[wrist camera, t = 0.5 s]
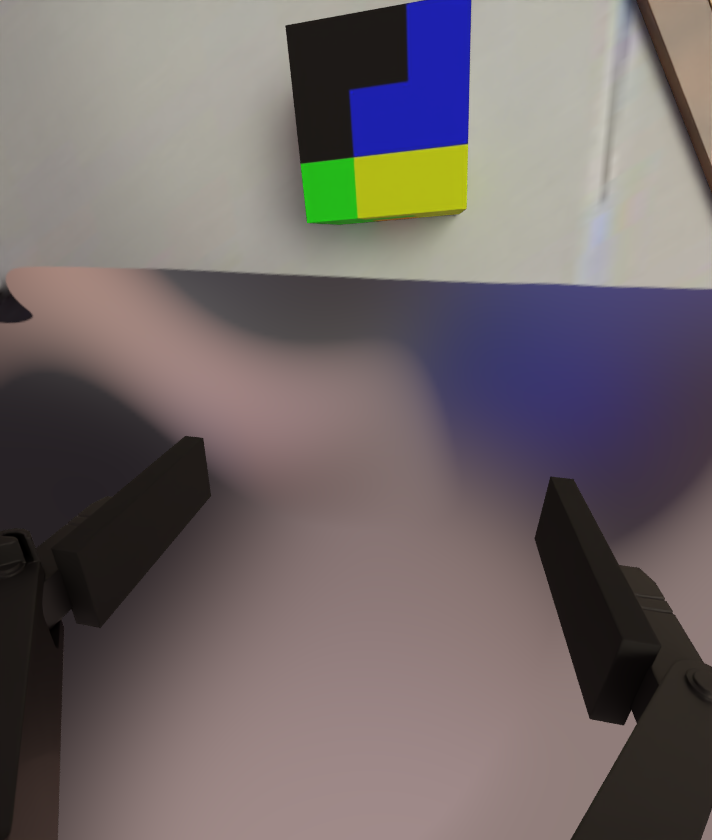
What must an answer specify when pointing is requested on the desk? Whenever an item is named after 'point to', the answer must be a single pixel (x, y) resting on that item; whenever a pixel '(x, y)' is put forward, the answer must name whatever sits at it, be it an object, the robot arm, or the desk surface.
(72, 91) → the desk surface
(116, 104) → the desk surface
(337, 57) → the puzzle toy
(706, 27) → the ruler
